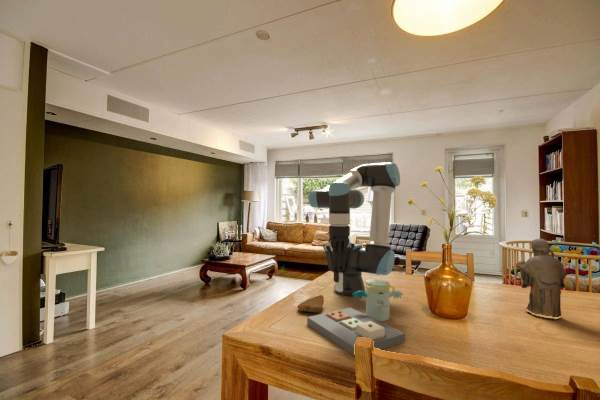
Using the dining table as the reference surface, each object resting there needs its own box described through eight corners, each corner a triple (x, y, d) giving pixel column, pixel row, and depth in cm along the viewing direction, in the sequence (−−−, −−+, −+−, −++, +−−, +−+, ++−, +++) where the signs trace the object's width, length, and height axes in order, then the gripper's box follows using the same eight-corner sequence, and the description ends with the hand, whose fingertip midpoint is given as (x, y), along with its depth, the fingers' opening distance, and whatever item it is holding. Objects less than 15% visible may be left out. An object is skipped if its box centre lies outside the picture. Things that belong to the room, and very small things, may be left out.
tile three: (339, 318, 108) (339, 309, 108) (350, 324, 103) (350, 314, 103) (326, 321, 105) (326, 312, 105) (336, 327, 100) (336, 318, 100)
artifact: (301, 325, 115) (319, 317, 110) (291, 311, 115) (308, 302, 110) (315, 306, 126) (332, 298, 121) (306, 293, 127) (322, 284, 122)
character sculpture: (356, 323, 104) (356, 286, 104) (349, 312, 116) (349, 278, 116) (410, 323, 105) (411, 286, 105) (398, 312, 116) (399, 278, 116)
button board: (350, 313, 113) (350, 307, 114) (405, 341, 91) (405, 333, 91) (307, 324, 103) (307, 317, 103) (356, 357, 81) (356, 348, 81)
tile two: (354, 326, 101) (354, 316, 101) (366, 332, 96) (366, 322, 96) (340, 329, 98) (340, 320, 98) (352, 337, 93) (352, 326, 93)
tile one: (370, 330, 94) (370, 319, 94) (384, 337, 89) (384, 326, 89) (356, 334, 91) (356, 323, 91) (370, 341, 86) (370, 330, 86)
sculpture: (567, 315, 114) (567, 239, 115) (566, 323, 107) (566, 242, 107) (518, 306, 125) (518, 236, 125) (514, 312, 117) (514, 238, 118)
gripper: (346, 223, 111) (346, 285, 111) (318, 225, 104) (318, 290, 104) (360, 225, 105) (359, 290, 104) (331, 226, 98) (330, 296, 98)
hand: (338, 290), depth 104 cm, fingers closed
